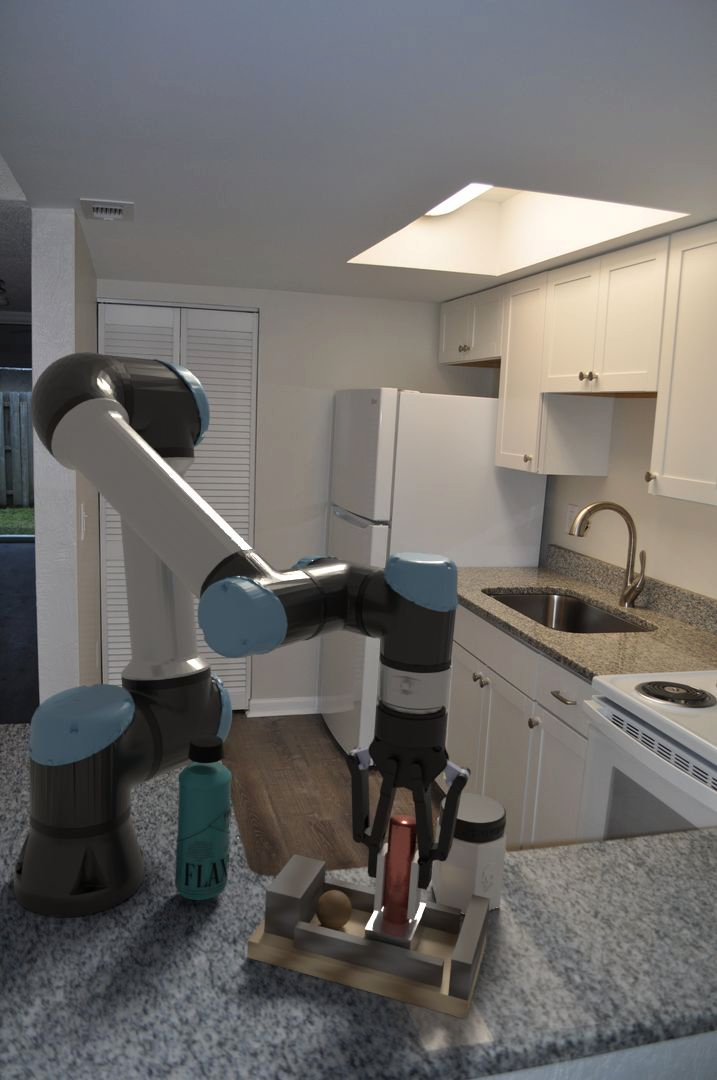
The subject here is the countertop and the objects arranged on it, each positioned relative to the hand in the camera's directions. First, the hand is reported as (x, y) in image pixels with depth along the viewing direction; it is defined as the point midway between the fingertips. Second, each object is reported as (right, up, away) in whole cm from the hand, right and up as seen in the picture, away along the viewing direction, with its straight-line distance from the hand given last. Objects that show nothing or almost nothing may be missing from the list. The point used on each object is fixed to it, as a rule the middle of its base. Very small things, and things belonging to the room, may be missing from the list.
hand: (396, 908), depth 88 cm
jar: (+9, -5, +14) cm, 17 cm away
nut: (-7, -3, +3) cm, 8 cm away
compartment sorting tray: (-3, -6, +2) cm, 7 cm away
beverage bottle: (-23, -3, +10) cm, 26 cm away
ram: (0, -4, +1) cm, 4 cm away
